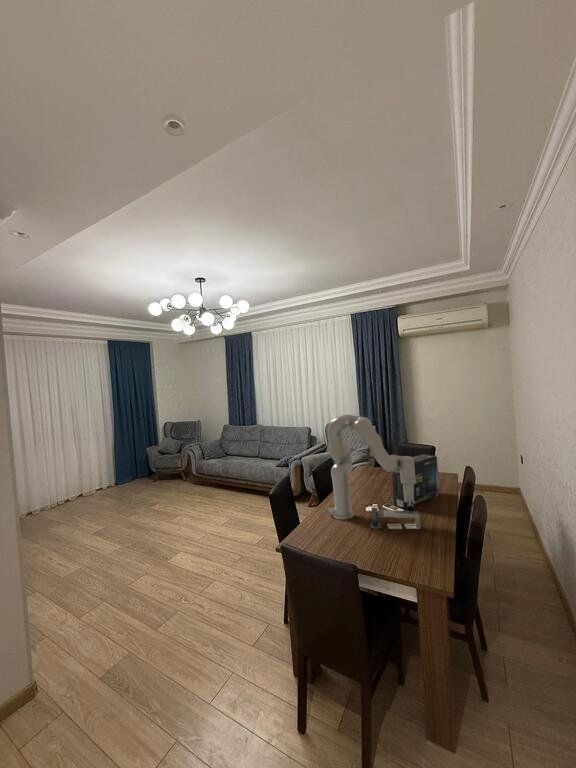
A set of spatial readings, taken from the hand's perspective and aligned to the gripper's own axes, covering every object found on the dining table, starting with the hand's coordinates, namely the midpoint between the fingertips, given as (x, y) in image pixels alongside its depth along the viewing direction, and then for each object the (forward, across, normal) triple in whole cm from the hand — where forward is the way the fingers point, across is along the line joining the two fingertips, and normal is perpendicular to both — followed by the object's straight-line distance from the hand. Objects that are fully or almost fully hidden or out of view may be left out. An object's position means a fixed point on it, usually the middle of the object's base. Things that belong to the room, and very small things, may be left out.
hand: (411, 513), depth 165 cm
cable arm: (+5, +5, -6) cm, 9 cm away
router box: (+6, -37, +3) cm, 38 cm away
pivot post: (+6, +6, -18) cm, 20 cm away
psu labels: (+6, +3, -4) cm, 8 cm away
